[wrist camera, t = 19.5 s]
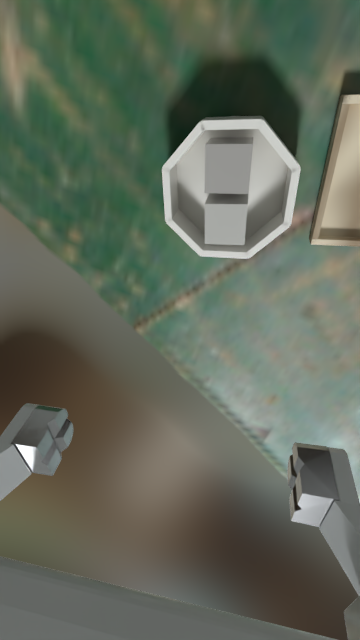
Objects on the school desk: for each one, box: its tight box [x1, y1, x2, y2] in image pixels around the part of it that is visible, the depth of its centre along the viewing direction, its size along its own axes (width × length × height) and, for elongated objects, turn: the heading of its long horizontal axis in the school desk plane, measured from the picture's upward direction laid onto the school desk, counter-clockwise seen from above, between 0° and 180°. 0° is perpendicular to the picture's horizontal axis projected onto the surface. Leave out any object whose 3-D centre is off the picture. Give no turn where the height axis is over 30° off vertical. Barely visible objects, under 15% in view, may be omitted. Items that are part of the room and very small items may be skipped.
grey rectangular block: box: [205, 137, 253, 194], centre depth 29 cm, size 4×4×4 cm
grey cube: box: [205, 193, 249, 245], centre depth 32 cm, size 4×4×4 cm
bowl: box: [162, 116, 301, 259], centre depth 31 cm, size 12×12×4 cm
